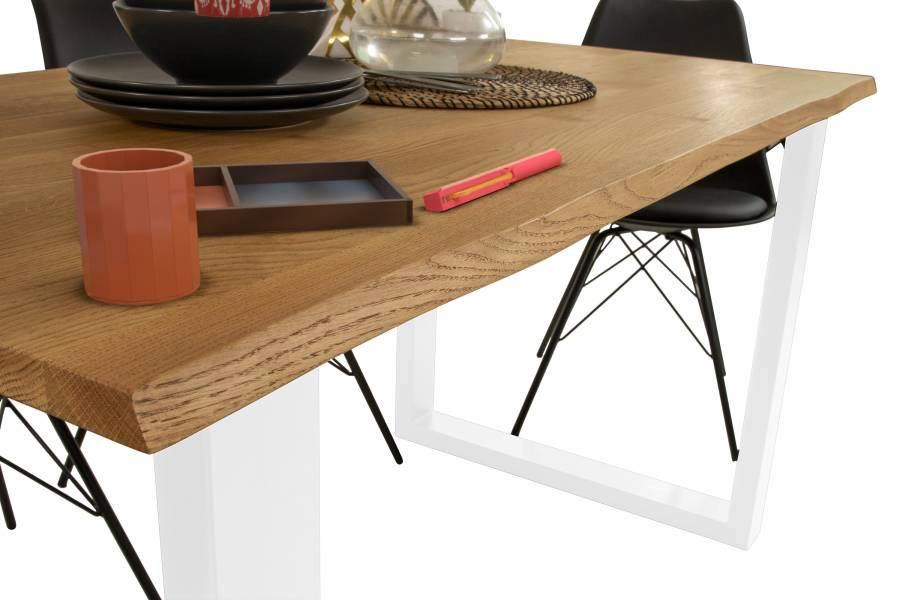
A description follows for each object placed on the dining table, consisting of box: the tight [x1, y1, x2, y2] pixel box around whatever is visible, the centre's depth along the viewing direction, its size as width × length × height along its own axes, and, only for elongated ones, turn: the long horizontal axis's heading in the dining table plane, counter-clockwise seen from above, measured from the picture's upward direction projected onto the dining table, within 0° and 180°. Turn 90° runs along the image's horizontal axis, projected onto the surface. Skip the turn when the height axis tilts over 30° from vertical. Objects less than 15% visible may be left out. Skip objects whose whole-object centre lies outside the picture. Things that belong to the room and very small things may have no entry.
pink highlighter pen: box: [422, 147, 563, 213], centre depth 97 cm, size 24×2×5 cm
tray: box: [193, 158, 414, 238], centre depth 87 cm, size 25×16×2 cm, turn 106°
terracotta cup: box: [71, 147, 201, 306], centre depth 66 cm, size 7×7×9 cm
